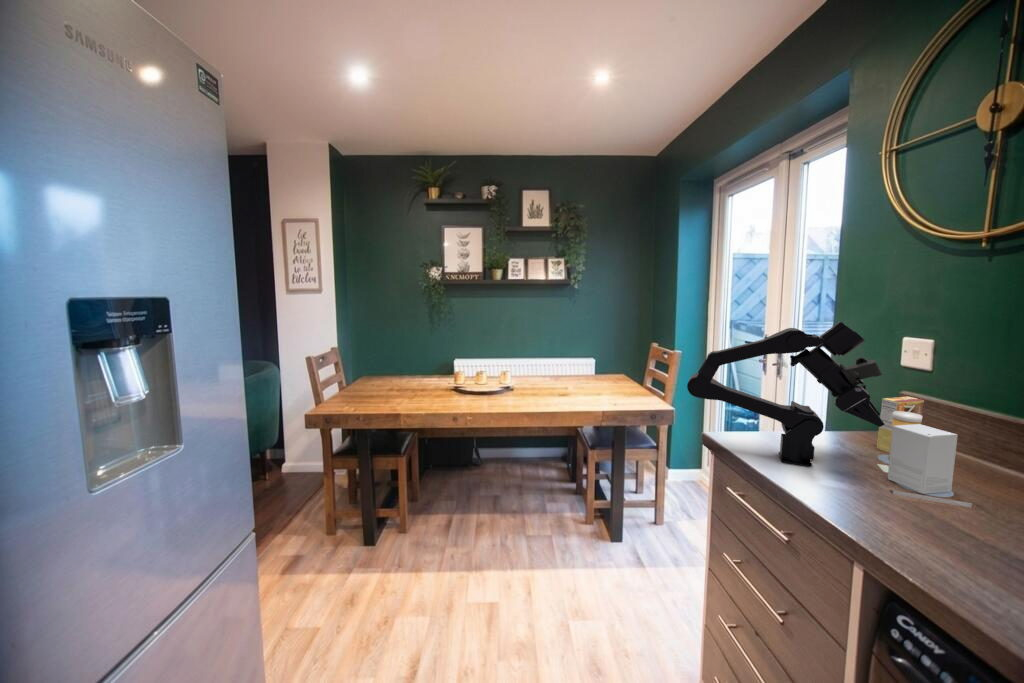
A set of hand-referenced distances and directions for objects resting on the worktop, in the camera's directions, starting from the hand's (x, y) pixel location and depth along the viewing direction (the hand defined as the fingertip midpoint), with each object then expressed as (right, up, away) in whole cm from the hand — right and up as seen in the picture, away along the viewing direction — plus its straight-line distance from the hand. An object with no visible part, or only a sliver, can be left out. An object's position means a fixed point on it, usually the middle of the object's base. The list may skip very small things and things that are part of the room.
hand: (880, 420), depth 94 cm
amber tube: (+11, -12, +6) cm, 17 cm away
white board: (+7, -14, +1) cm, 15 cm away
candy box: (+17, -12, +14) cm, 26 cm away
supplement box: (+3, -13, -6) cm, 15 cm away
